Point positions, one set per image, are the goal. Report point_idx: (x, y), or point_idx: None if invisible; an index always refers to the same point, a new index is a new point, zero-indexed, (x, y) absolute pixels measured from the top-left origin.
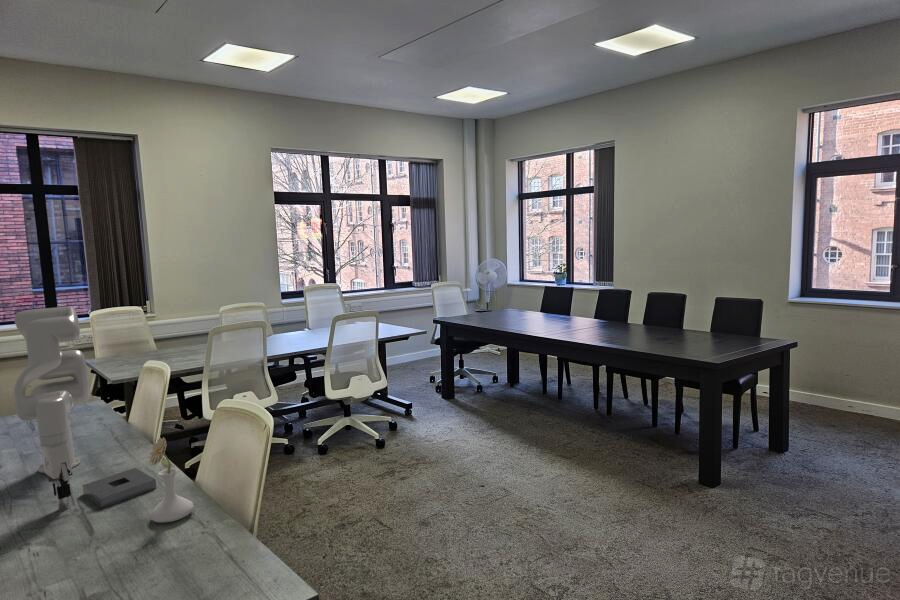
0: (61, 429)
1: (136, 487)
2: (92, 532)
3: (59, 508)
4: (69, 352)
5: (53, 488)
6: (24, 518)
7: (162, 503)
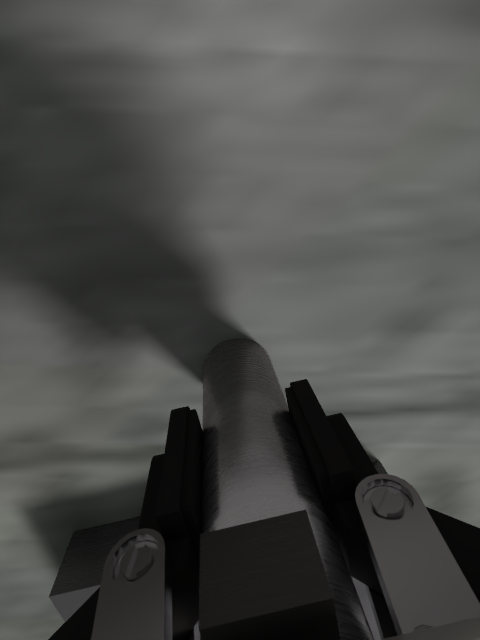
0: None
1: None
2: None
3: (218, 353)
4: None
5: (321, 426)
6: (266, 117)
7: None
